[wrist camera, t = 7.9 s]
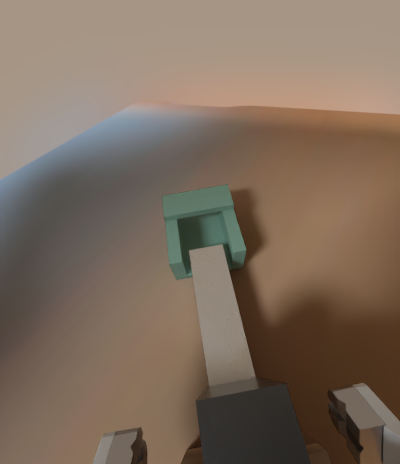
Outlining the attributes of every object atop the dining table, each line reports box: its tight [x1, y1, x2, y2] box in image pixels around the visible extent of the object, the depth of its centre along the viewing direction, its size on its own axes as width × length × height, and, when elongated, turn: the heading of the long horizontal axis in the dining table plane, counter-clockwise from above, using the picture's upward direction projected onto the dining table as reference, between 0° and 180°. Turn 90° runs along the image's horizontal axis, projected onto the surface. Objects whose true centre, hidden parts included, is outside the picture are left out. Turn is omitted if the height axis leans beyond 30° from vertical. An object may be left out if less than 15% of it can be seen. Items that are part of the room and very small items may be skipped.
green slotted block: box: [162, 184, 246, 280], centre depth 20 cm, size 6×7×4 cm
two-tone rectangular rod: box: [189, 244, 311, 464], centre depth 12 cm, size 3×15×9 cm, turn 9°
